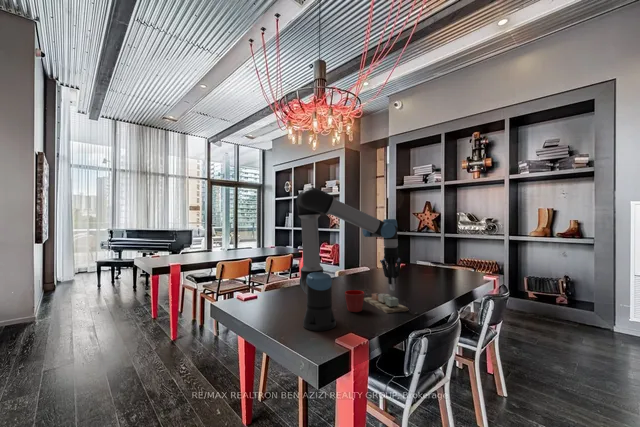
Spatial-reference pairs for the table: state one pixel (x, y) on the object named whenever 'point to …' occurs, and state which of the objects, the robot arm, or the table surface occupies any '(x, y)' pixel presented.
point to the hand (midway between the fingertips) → (392, 289)
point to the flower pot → (354, 300)
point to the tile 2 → (391, 301)
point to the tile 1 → (382, 297)
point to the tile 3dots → (375, 296)
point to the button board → (385, 306)
